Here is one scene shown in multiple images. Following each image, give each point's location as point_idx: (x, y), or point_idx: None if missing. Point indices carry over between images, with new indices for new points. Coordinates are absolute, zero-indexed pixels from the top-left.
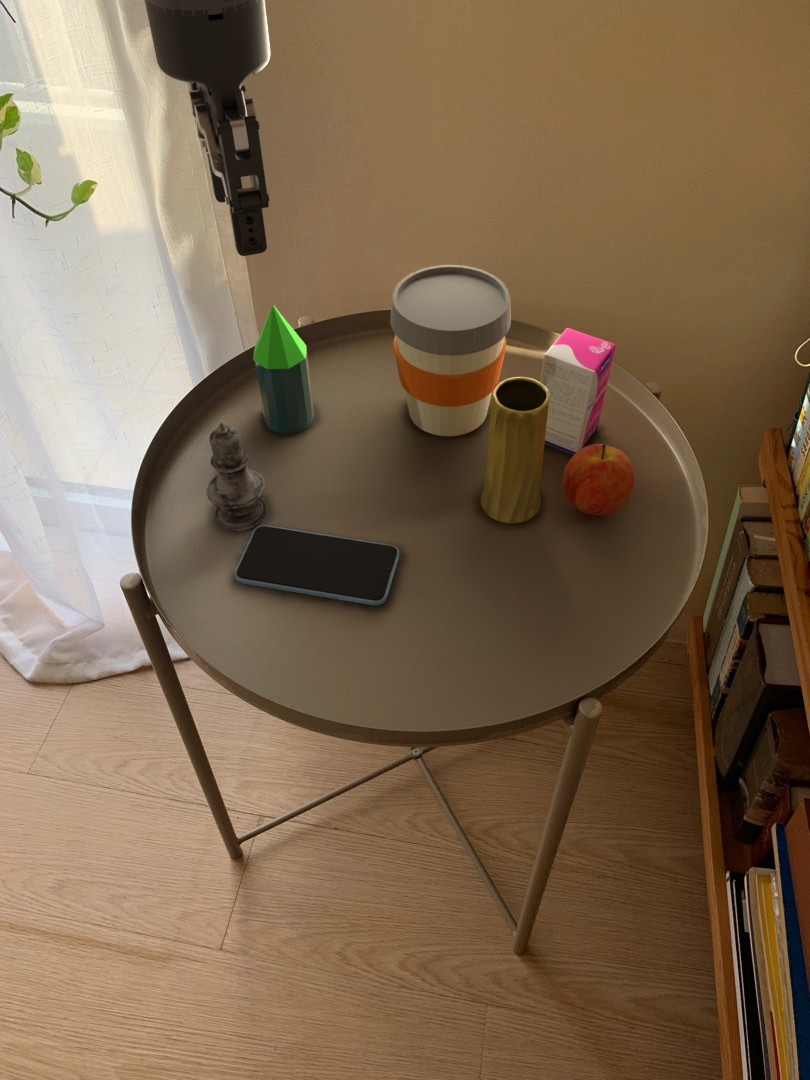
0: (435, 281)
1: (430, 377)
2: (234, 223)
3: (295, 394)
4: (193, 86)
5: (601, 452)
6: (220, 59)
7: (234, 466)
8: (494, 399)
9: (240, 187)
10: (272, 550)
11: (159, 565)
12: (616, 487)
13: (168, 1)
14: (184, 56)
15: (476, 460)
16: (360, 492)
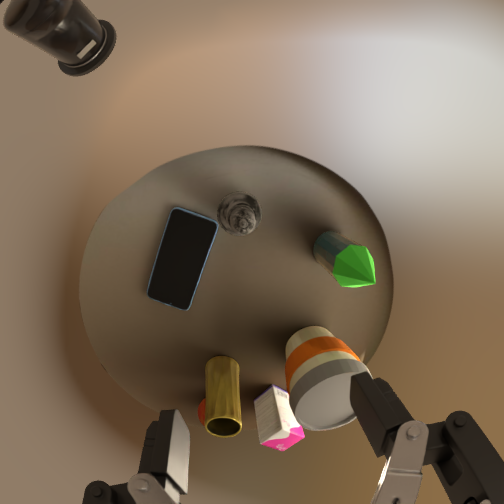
0: None
1: (293, 367)
2: (154, 451)
3: (325, 266)
4: (484, 490)
5: None
6: None
7: (229, 223)
8: (220, 416)
9: (355, 414)
10: (192, 233)
11: (196, 154)
12: (200, 421)
13: None
14: None
15: (261, 357)
16: (244, 291)
